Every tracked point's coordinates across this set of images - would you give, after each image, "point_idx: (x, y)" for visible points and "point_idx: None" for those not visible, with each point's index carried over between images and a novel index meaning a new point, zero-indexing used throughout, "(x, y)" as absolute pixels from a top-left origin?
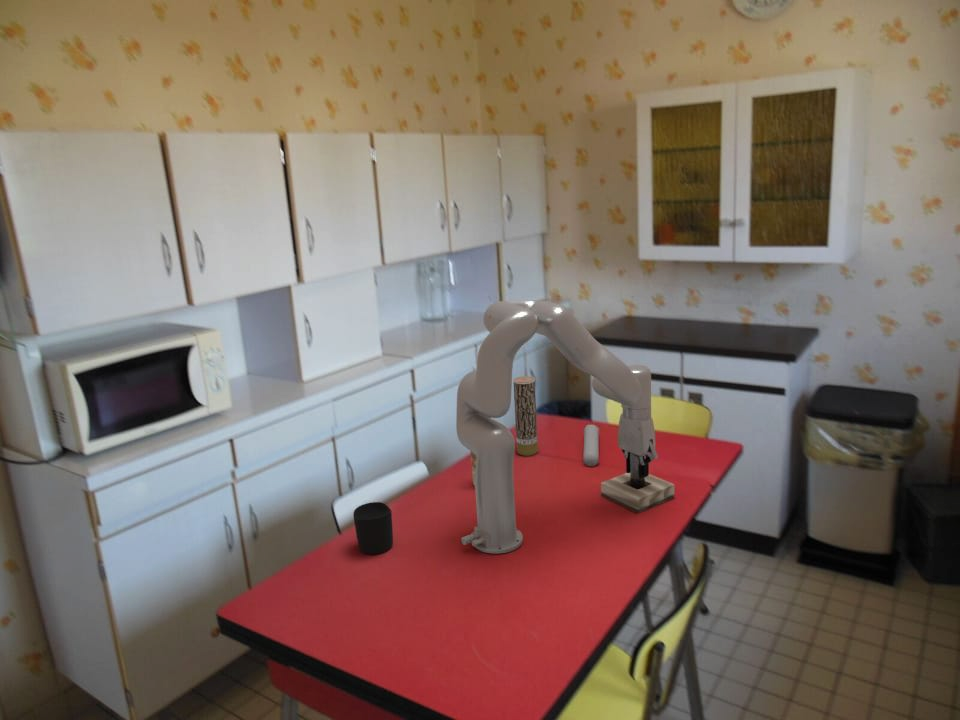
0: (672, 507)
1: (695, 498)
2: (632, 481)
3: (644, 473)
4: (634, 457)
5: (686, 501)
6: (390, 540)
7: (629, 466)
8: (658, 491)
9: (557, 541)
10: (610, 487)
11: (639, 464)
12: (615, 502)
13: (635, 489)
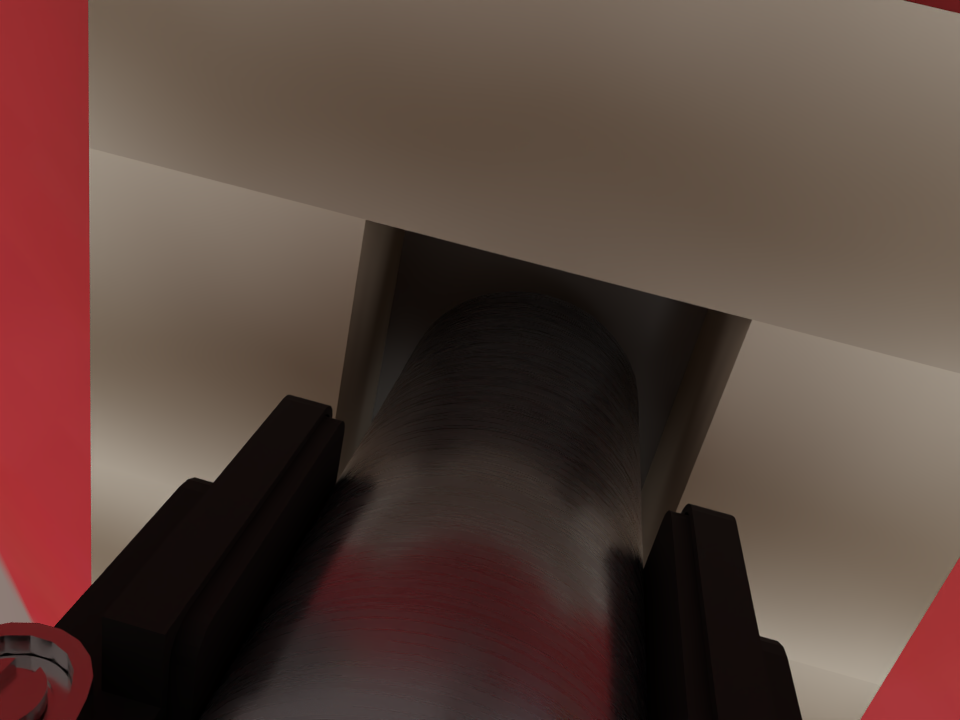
0: (51, 307)
1: (44, 594)
2: (530, 361)
3: (169, 498)
4: None
5: (55, 503)
6: None
7: (663, 644)
8: (96, 359)
9: None
10: (915, 5)
11: (229, 686)
12: None
13: (401, 208)
